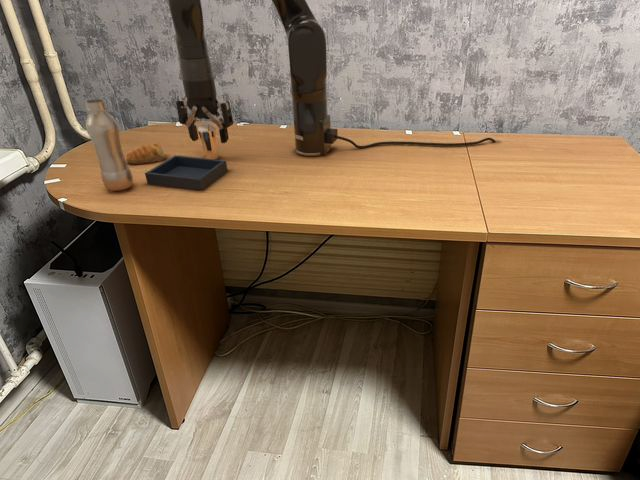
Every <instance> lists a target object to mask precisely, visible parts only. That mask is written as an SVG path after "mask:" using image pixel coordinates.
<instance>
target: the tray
mask: <svg viewBox="0 0 640 480" xmlns="http://www.w3.org/2000/svg"><path fill="white" fill-rule="evenodd" d="M228 171H229V170H228V165H227V160H224V159H216V160H215V159H206V157H195V156H188V155H187V156H185V155H176V154H175V155H173V156H172V157H169V158H167V159H166V160H165V161H163V162H161V163H160V164H158V165H155V167H153V168H151V169H150V170H148V171H146V172H145V173H144V175H145V179H146V182H147V185H151V186H158V187H159V186H160V187H167V188H175V189H184V190H193V191H199V192H200V191H201V192H203V191H204V190H205V189H206V188H208V187H209V186H210V185H212V184H213V183H214V182H215V181H217V180H219V179H220V178H221V177H222V176H223V175H225V174H226V173H228Z"/></svg>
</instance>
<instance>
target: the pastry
mask: <svg viewBox="0 0 640 480" xmlns="http://www.w3.org/2000/svg"><path fill="white" fill-rule="evenodd" d="M165 159H166V155H165V152H164V150H163V148H162V146H161V144H160V143H159V142H154V143H153V144H146V145H142V146H140V147H138V148H136V149H133V150H132V151H130V152H128V153H127V154H126V158H125V160H126V162H127V163H130V164H134V165H137V164H138V165H141V164H150V163H155V162H162V161H164V160H165Z"/></svg>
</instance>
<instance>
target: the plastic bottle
mask: <svg viewBox="0 0 640 480" xmlns="http://www.w3.org/2000/svg"><path fill="white" fill-rule="evenodd" d="M85 107H86V111H87V112H88V115H87V117H86V121H85V130H86V133H87V134H88V136H89V139H90V141H91V142H92V145H93V148H94V150H95V153H96V156H97V159H98V164H99V168H100V176H101V181H102V183H103V185H104V187H105V188H106V189H108V190H109V191H124V190H126V189H129V188H131V187H132V185H133V183H134V178H133V176H134V175H133V173H132V171H131V169H130V167H129V166H128V162H127V159H126V158H125V155H124V151H123V148H122V144H121V137H120V129H119V125H118V121H116V119H115V118H114V117H113V116H112V115H111V114H109V112H108V111H107V106H106V103H105V100H104V99H102V98H92V99H88V100H86V101H85Z"/></svg>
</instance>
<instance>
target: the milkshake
mask: <svg viewBox="0 0 640 480" xmlns="http://www.w3.org/2000/svg"><path fill="white" fill-rule="evenodd" d="M197 132H198V136H199V138H200V141H201V146H202V149H203V152H204V158H206V159H215V160H218V159H219V151H218V150H219V149H218V140H217V139H218V137H217V127H216V126H215V125H214V124H212V123H203V124H200V125H199V126H198V127H197Z"/></svg>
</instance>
